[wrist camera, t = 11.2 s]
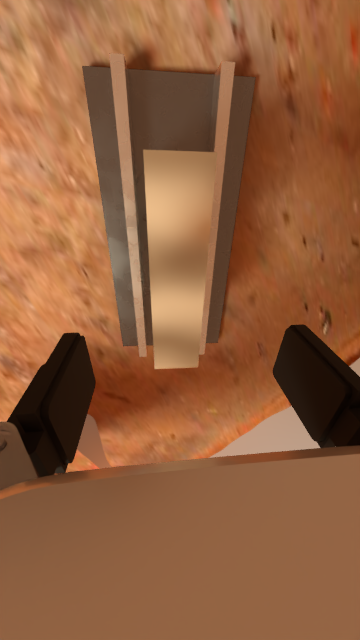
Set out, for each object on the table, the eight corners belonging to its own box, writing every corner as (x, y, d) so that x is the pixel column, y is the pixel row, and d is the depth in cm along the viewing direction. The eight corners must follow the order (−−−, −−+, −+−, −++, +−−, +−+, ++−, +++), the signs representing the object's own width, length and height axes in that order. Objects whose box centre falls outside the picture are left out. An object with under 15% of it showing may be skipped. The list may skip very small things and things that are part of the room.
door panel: (185, 308, 30) (198, 367, 21) (155, 309, 30) (154, 369, 20) (191, 163, 21) (217, 152, 12) (149, 162, 21) (143, 149, 12)
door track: (216, 338, 34) (221, 353, 31) (124, 341, 33) (120, 357, 30) (251, 81, 19) (268, 64, 17) (85, 71, 18) (71, 50, 15)
